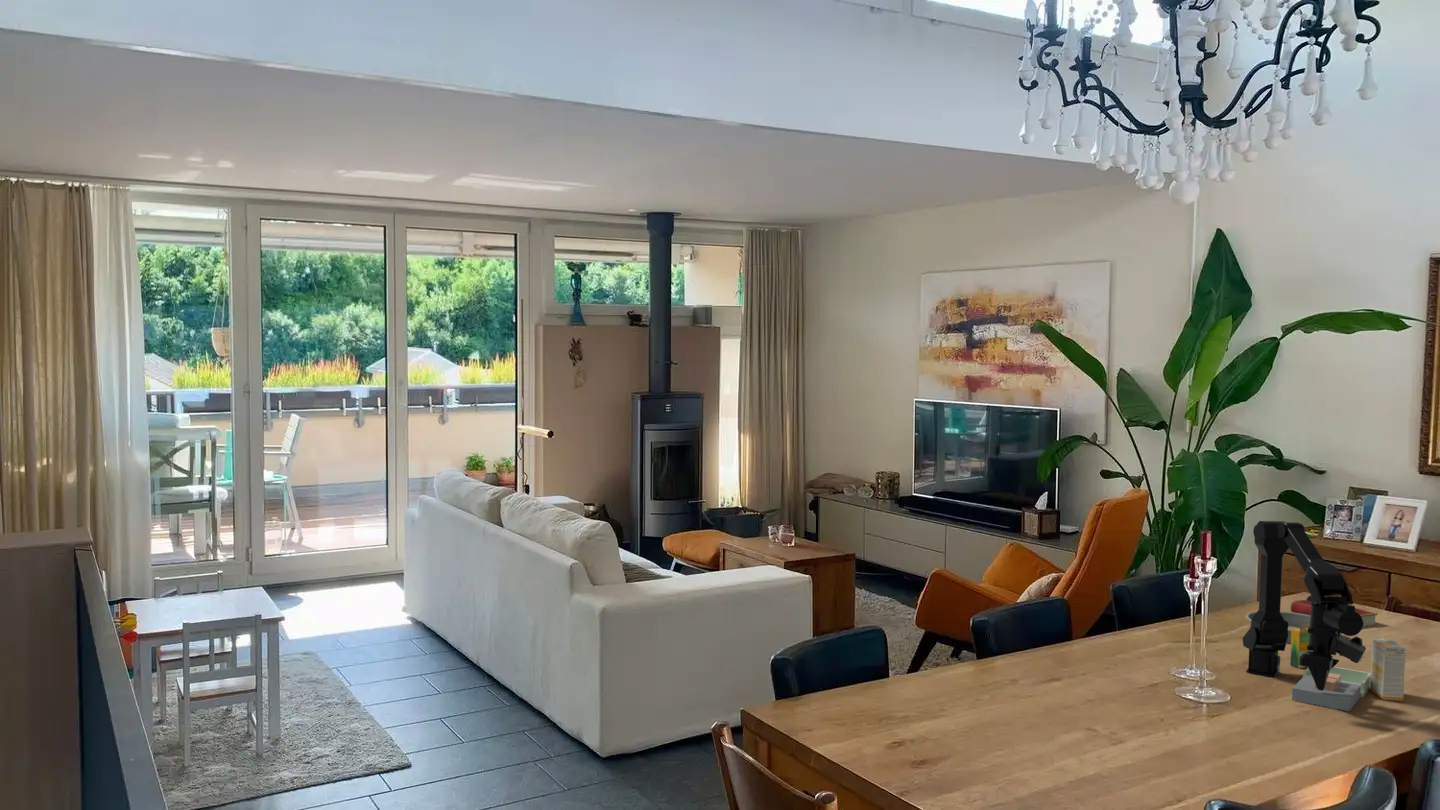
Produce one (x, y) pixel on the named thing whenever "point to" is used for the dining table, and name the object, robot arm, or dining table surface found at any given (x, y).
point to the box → (1350, 677)
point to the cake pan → (1288, 620)
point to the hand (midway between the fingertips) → (1320, 689)
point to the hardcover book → (1305, 608)
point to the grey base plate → (1326, 694)
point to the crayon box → (1299, 644)
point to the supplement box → (1387, 669)
